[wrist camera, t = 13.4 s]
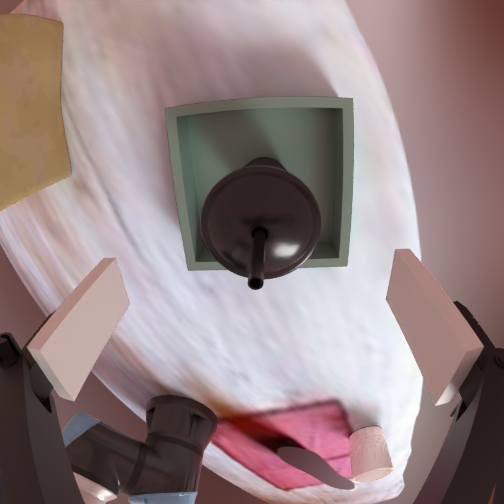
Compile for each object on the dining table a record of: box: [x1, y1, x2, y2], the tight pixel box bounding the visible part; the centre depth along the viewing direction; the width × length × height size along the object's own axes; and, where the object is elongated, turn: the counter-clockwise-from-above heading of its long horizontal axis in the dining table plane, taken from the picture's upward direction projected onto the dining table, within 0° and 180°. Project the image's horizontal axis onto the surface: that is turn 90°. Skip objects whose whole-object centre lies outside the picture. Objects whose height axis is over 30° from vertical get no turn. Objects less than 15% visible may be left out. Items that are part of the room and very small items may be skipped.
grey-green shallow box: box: [165, 97, 354, 271], centre depth 29 cm, size 17×17×5 cm
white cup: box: [349, 426, 393, 483], centre depth 50 cm, size 10×10×12 cm
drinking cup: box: [200, 157, 322, 290], centre depth 21 cm, size 8×8×20 cm
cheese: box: [0, 14, 72, 211], centre depth 20 cm, size 22×10×15 cm, turn 173°
